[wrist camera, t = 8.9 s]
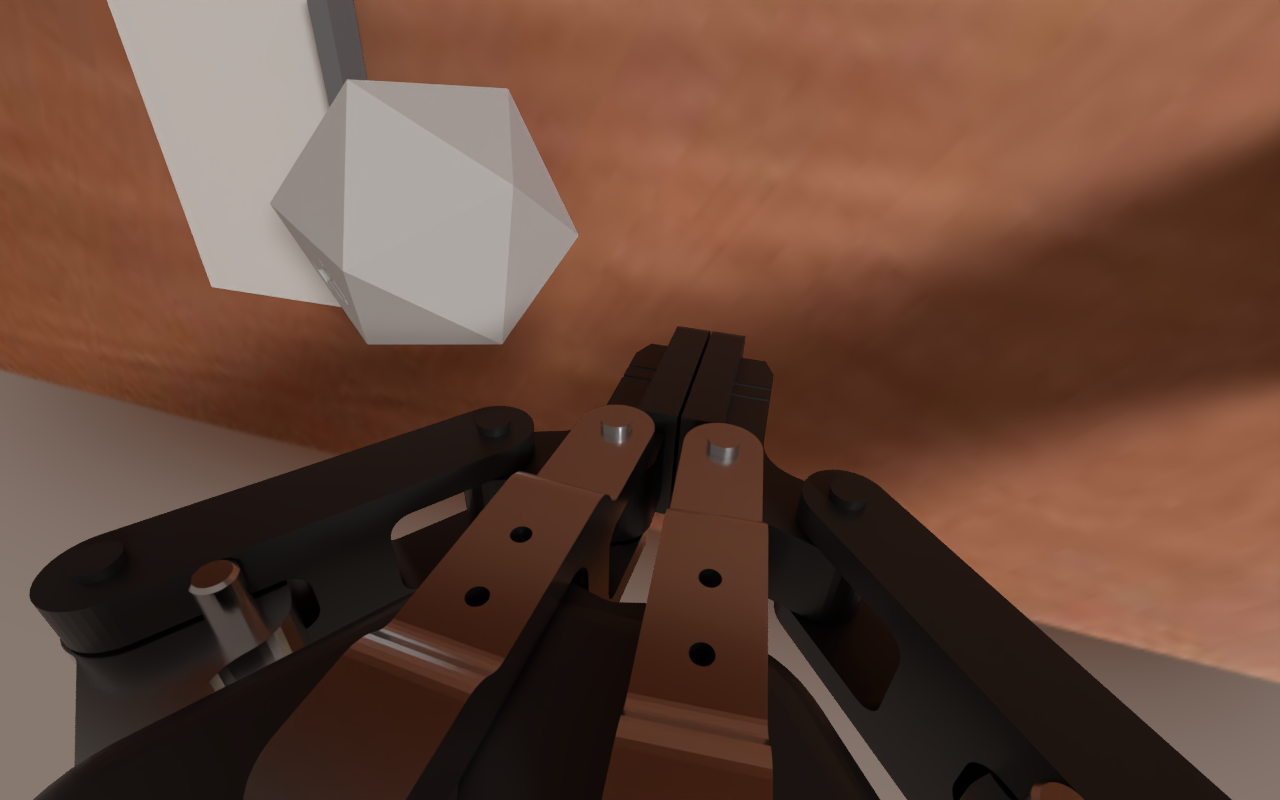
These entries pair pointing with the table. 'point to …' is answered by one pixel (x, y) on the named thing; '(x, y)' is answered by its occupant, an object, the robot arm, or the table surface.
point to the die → (426, 211)
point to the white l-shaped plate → (240, 119)
